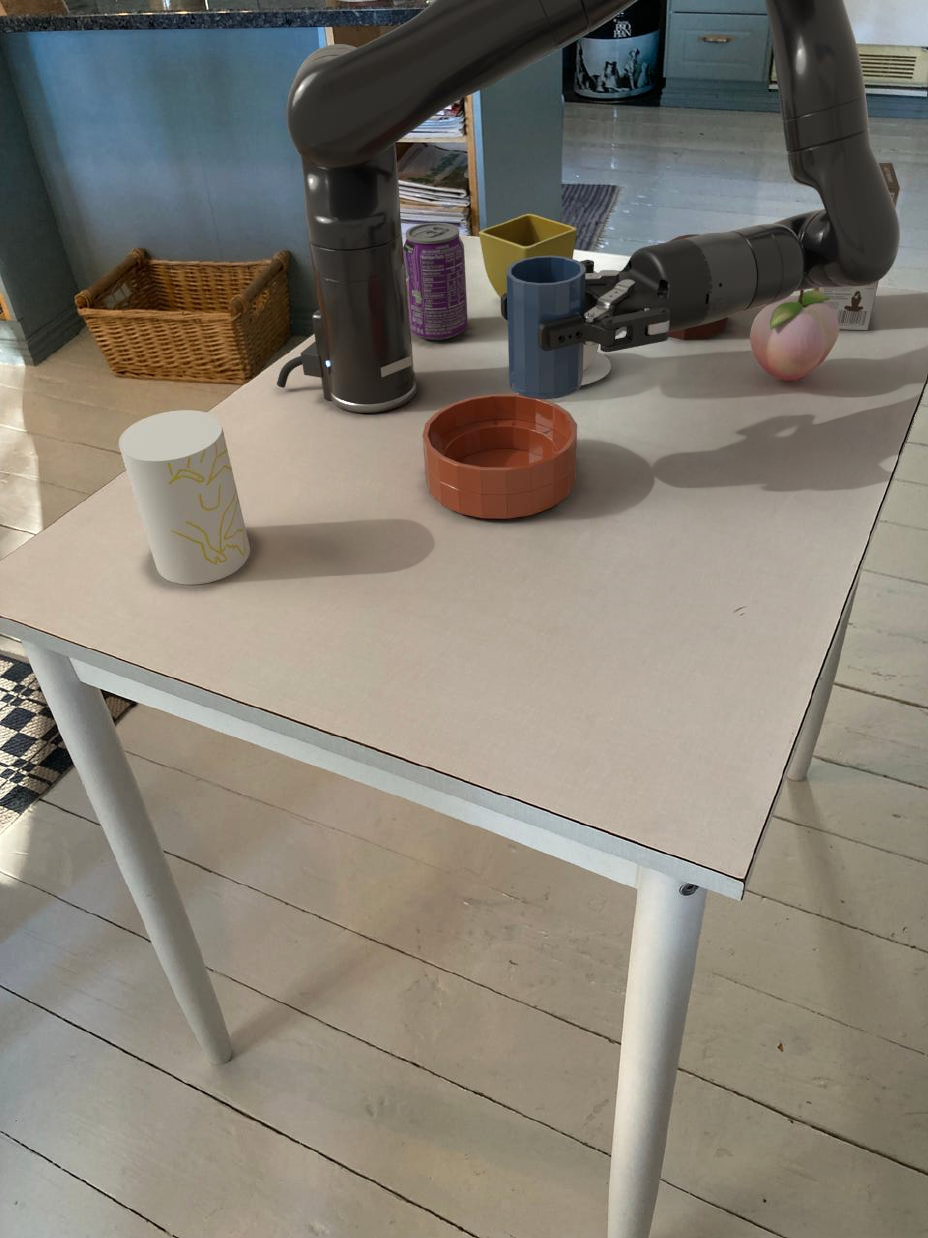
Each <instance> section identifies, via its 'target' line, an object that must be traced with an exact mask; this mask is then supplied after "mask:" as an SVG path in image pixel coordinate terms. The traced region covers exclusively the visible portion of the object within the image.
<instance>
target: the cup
mask: <svg viewBox="0 0 928 1238" xmlns="http://www.w3.org/2000/svg"><path fill="white" fill-rule="evenodd" d="M118 447H119V451H120V454H121V457H122V461H123V464H124V466H125V470H126V473H127V476H128V479H129V480H128V481H129V483H130V487H131V490H132V493H133V496H134V500H135V502H136V503H135V504H136V507H137V509H138V512H139V515H140V519H141V522H142V525H143V529H144V532H145V536H146V539H147V541H148V545H149V548H150V552H151V555H152V558H153V561H154V565H155V567H156V568H155V569H156V570H157V572H158V574H159V575H160V576H161V577H162V578H163V579H165V580H166V581H168V582H171V583H174V584H178V585H179V584H180V585H186V586H187V585H189V586H192V585H193V586H195V585H203V584H210V583H213V582H216V581H219V580H222V579H225V578H226V577H228V576H231V575H232V574H234V573H235V572H236V571H238V570H240V569H241V568H242V567H243V566H244V565H245V563H246V562H247V561H248V559H249V556H250V554H251V545H250V542H249V537H248V533H247V529H246V524H245V520H244V517H243V511H242V508H241V503H240V498H239V494H238V490H237V485H236V480H235V476H234V473H233V467H232V463H231V458H230V455H229V449H228V446H227V442H226V436H225V433H224V428H223V424H222V423H221V421H220V419H219V418H218V417H216V416H215V415H213V414H211V413H208V412H205V411H202V410H193V409H192V410H191V409H179V410H170V411H164V412H160V413H156V414H152V415H150V416H147V417H145V418H143V419H140V420H138V421H136V422H135V423H133V424H131V425H130V426H129V427H128V428H126V429H125V430H124V431H123V432H122V434H121V435H120V437H119V439H118Z"/></svg>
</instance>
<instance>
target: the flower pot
mask: <svg viewBox="0 0 928 1238" xmlns="http://www.w3.org/2000/svg"><path fill="white" fill-rule="evenodd" d="M577 232H578V228H577V227H574V226H572V225H569V224H565V223H562V222H559V221H556V220H553V219H549V218H547V217H543V216H540V215H537V214H534V213H533V214H532V213H526V214H522V215H520V216H518V217H515V218H512V219H509V220H507V221H505V222H502V223H499V224H496V225H493V226H490V227H488V228H484V229H482V230H480V231H479V232H478V236H479V242H480V247H481V254H482V259H483V265H484V269H485V272H486V276H487V278H488V281H489V283H490V284H491V286H492V288H493V290H494V291H495V293H496V294H497V295H498V298H500V299H501V297H502V295H503V294H505V293H507V268H508V267H509V266H510V265H511V264H512V263H514V262H517V261H519V260H522V259H525V258H530V257H536V256H561V257H568V258H571V259H574V254H575V253H574V252H575V245H576V239H577Z"/></svg>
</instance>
